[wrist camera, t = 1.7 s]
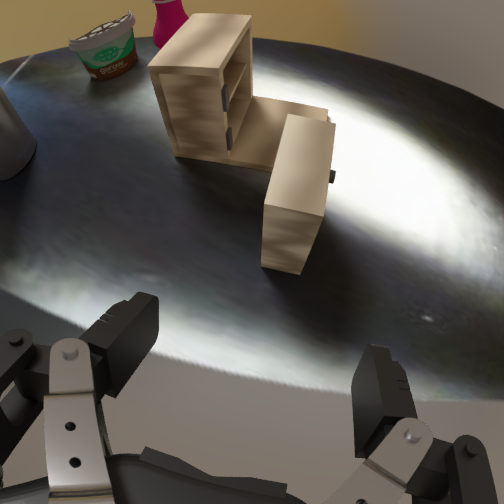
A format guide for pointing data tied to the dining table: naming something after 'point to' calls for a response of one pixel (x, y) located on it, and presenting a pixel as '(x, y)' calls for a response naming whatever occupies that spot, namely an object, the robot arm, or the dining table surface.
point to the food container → (108, 49)
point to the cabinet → (219, 95)
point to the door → (297, 193)
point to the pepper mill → (167, 20)
